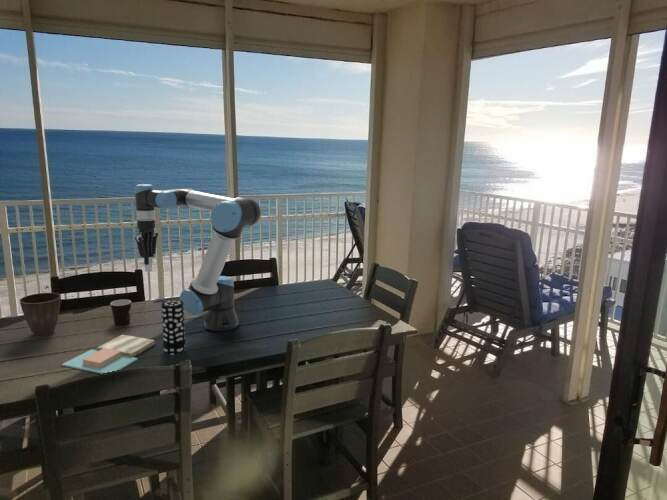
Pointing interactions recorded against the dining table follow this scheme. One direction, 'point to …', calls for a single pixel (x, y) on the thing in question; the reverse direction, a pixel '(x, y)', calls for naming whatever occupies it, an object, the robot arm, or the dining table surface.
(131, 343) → the board
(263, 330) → the dining table surface
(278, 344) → the dining table surface
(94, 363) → the terracotta tile
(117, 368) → the teal mat
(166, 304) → the white-spotted black cylinder
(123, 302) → the coffee mug
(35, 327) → the plant pot
